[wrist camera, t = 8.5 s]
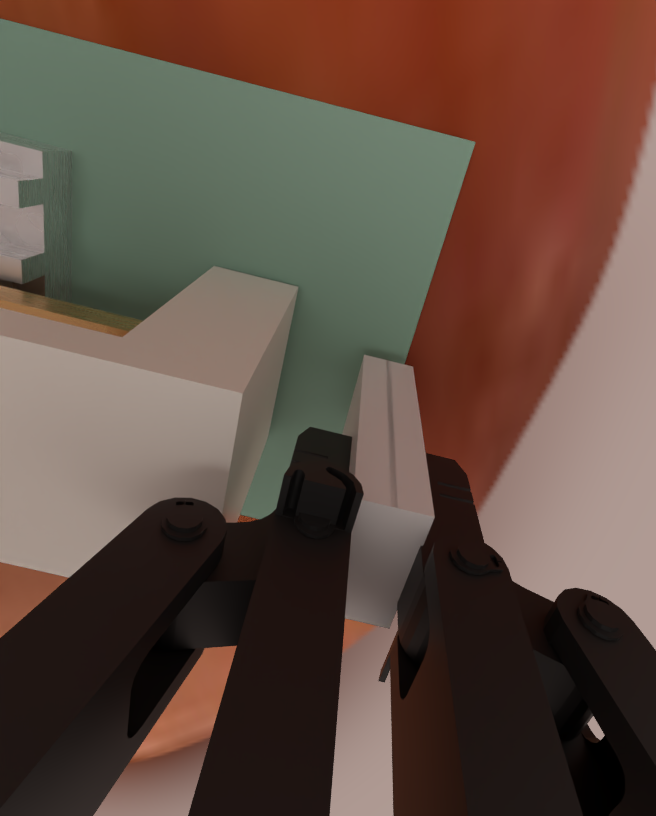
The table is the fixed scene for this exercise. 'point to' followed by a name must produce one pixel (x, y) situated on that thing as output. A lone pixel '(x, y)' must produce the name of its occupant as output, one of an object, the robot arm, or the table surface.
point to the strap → (66, 312)
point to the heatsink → (35, 217)
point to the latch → (135, 415)
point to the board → (241, 208)
